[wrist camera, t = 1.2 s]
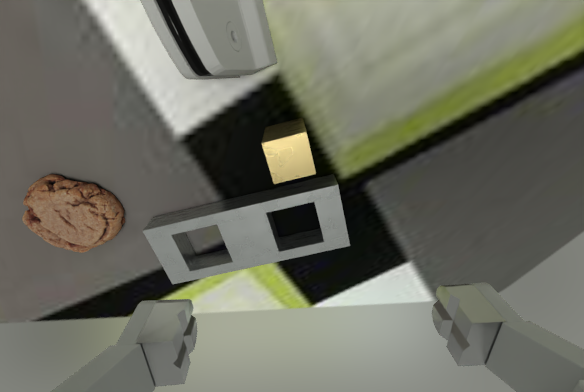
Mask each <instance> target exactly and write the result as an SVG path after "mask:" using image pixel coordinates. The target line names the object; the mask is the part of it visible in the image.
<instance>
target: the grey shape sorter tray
mask: <svg viewBox="0 0 584 392" xmlns="http://www.w3.org/2000/svg"><path fill="white" fill-rule="evenodd" d="M310 202H315V206H316V210H317V214H318V218H319V222H320V226H321V228H319V229H314V230H310V231H305V232H301V233H297V234H292V235H288V236H283V237H279V235H278V232H277V229H276V226H275V223H274V220H273V217H272V213H271V212H272V211H276V210H280V209H285V208H289V207H293V206H297V205H302V204H306V203H310ZM216 224H217V225H218V228H219V230H220V232H221V235H222V237H223V240H224V242H225V244H226V247H227V249H225V250H221V251H216V252H212V253H208V254H203V255H199V256H196V254H195V252H194V250H193V247H192V245H191V243H190V241H189V239H188V237H187V235H186V233H185V232H186V231H190V230H194V229H199V228H203V227H207V226H212V225H216ZM143 233H144V234H145V236H146V238H147V240H148V241H149V243H150V245H151V247H152V249H153V250H154V252H155V254H156V256H157V257H158V259H159V261H160V263H161V265H162V266H163V268H164V270H165V272H166V273H167V275H168V277H169V279H170V280H171V282H172V284H177V283H181V282H186V281H190V280H195V279H200V278H204V277H209V276H213V275H218V274H222V273H227V272H232V271H236V270H241V269H245V268H250V267H255V266H259V265H264V264H268V263H273V262H278V261H282V260H287V259H291V258H296V257H301V256H305V255H310V254H314V253H319V252H324V251H328V250H333V249H337V248H342V247H346V246H350V243H349V238H348V233H347V228H346V223H345V218H344V213H343V207H342V202H341V197H340V192H339V187H338V184H337V181H336V179H335V176H334V174H332V175H327V176H323V177H319V178H315V179H311V180H307V181H302V182H298V183H294V184H290V185H286V186H282V187H277V188H273V189H269V190H265V191H261V192H256V193H252V194H248V195H244V196H240V197H236V198H231V199H227V200H223V201H219V202H215V203H211V204H206V205H202V206H198V207H194V208H190V209H185V210H181V211H177V212H173V213H169V214H165V215H160V216H156V217H153V218H152V219H151V221H150V222H149V223H148V225H147V226H146V227H145V228H144V230H143Z"/></svg>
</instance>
